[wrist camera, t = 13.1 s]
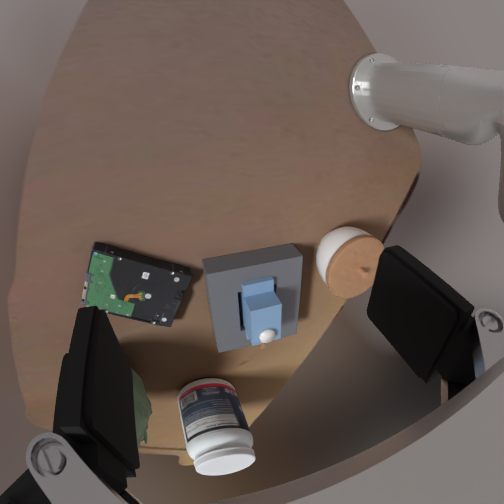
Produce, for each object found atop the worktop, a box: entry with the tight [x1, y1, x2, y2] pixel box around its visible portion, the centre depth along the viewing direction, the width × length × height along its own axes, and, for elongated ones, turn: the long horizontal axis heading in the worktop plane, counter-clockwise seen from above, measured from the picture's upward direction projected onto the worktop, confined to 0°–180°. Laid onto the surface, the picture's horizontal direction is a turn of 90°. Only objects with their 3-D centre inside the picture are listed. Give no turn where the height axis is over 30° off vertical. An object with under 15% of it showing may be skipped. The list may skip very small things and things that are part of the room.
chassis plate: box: [202, 243, 303, 353], centre depth 47 cm, size 14×16×4 cm
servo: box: [238, 276, 282, 349], centre depth 45 cm, size 13×4×9 cm, turn 2°
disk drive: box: [81, 242, 192, 327], centre depth 41 cm, size 10×3×15 cm
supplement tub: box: [177, 378, 255, 475], centre depth 51 cm, size 13×13×18 cm
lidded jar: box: [316, 226, 385, 298], centre depth 45 cm, size 11×11×9 cm
